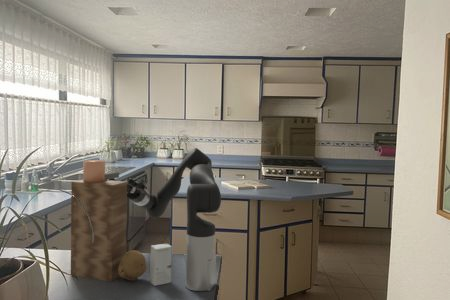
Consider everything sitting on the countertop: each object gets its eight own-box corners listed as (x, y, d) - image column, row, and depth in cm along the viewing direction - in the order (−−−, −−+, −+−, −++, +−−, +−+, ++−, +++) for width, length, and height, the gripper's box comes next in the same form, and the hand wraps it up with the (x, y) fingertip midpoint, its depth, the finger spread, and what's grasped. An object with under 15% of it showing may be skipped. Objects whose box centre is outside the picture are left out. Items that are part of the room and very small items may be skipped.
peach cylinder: (123, 177, 131) (123, 159, 131) (96, 183, 116) (96, 162, 116) (107, 176, 133) (107, 158, 133) (78, 181, 118) (78, 161, 117)
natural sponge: (152, 278, 118) (153, 249, 118) (133, 288, 111) (134, 257, 110) (132, 272, 123) (133, 244, 122) (113, 281, 115) (113, 252, 115)
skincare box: (154, 286, 113) (155, 249, 112) (149, 281, 116) (149, 245, 116) (171, 282, 116) (172, 246, 115) (166, 277, 120) (167, 242, 119)
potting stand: (125, 272, 123) (127, 181, 122) (111, 281, 115) (112, 184, 113) (87, 266, 128) (88, 178, 126) (70, 274, 120) (71, 181, 118)
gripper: (125, 185, 152) (106, 169, 139) (155, 187, 149) (138, 172, 135) (120, 201, 149) (100, 187, 135) (150, 204, 145) (133, 190, 131)
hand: (119, 179), depth 135 cm, fingers open, 8 cm apart
